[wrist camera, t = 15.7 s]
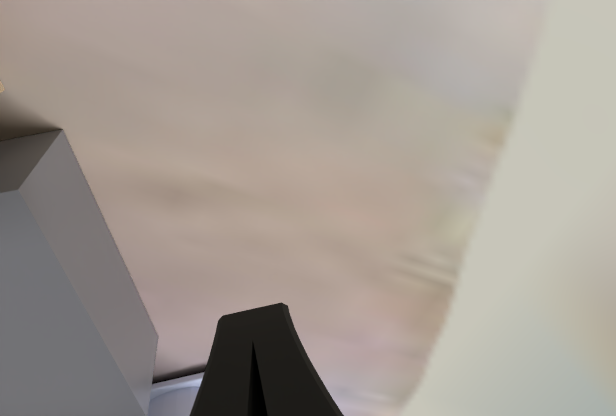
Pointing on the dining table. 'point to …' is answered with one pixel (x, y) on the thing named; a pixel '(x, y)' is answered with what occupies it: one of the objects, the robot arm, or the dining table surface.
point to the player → (65, 293)
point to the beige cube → (1, 87)
